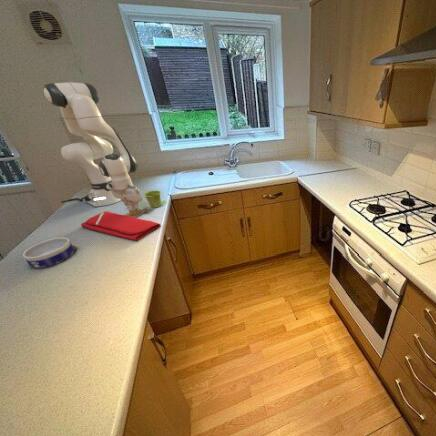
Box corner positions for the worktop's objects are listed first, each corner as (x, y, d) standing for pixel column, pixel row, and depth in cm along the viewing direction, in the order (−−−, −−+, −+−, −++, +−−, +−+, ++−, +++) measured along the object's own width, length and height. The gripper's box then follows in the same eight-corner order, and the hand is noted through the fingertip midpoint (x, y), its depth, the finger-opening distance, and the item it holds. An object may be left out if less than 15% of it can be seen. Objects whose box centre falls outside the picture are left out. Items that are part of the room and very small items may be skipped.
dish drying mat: (135, 242, 116) (132, 235, 114) (81, 228, 130) (78, 222, 128) (161, 226, 129) (159, 220, 127) (109, 215, 142) (107, 209, 141)
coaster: (122, 216, 141) (122, 215, 141) (136, 209, 148) (135, 209, 148) (133, 218, 138) (132, 218, 138) (146, 212, 145) (146, 211, 145)
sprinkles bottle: (129, 213, 143) (120, 193, 136) (137, 211, 146) (129, 190, 139) (132, 216, 140) (123, 195, 133) (140, 213, 143) (132, 192, 136)
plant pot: (157, 209, 148) (153, 196, 143) (144, 208, 149) (140, 195, 145) (167, 203, 156) (163, 190, 151) (155, 202, 157) (150, 190, 153)
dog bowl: (21, 272, 99) (12, 260, 96) (43, 251, 112) (36, 240, 109) (64, 264, 102) (57, 253, 99) (81, 245, 115) (75, 234, 112)
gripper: (141, 184, 133) (148, 206, 139) (116, 180, 140) (125, 201, 146) (130, 188, 128) (139, 211, 134) (105, 184, 135) (115, 206, 141)
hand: (131, 206), depth 140 cm, fingers open, 6 cm apart
